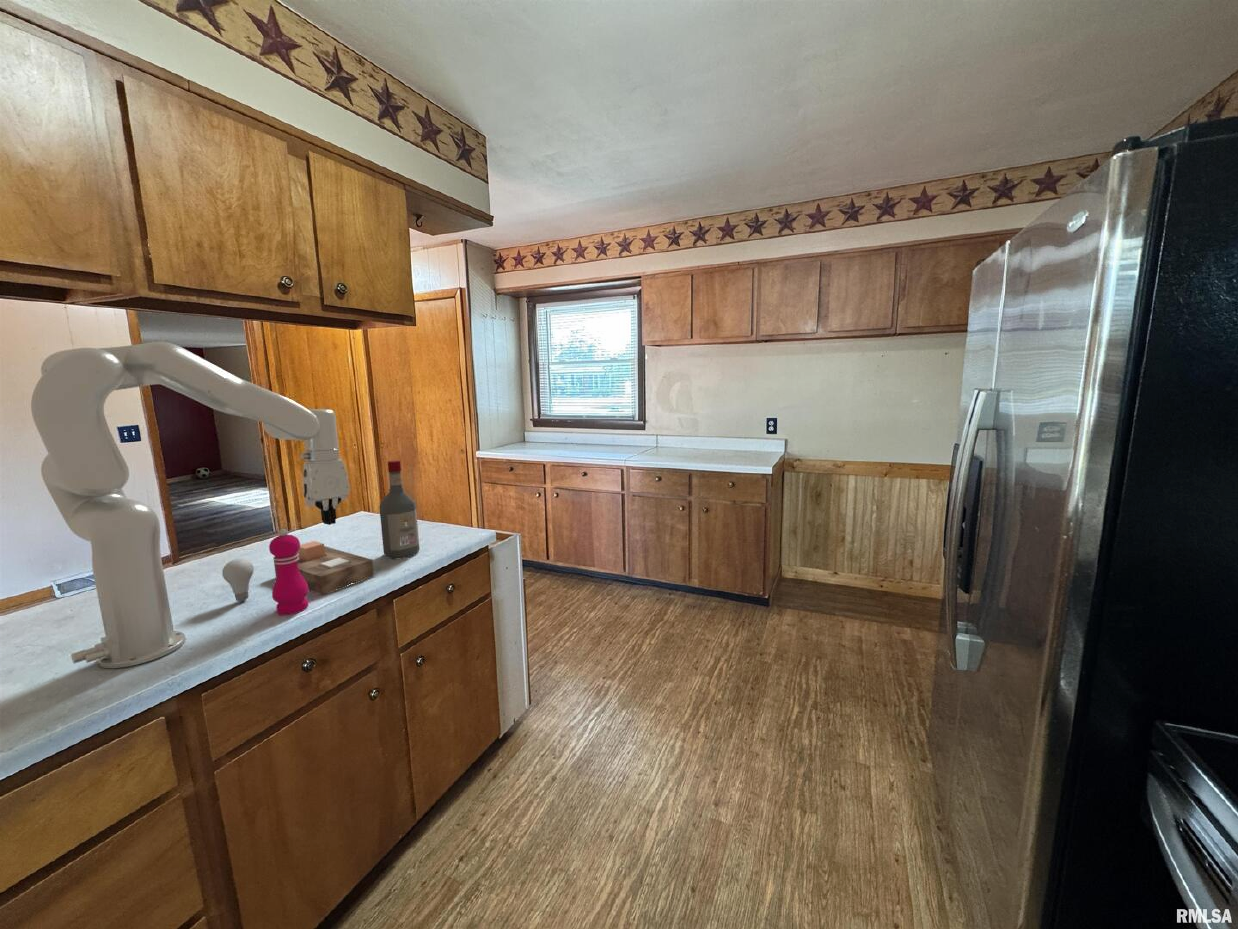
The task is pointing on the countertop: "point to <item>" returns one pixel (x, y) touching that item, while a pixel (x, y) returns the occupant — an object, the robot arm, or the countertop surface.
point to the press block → (334, 571)
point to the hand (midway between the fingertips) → (329, 523)
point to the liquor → (398, 518)
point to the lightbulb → (238, 577)
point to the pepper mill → (288, 575)
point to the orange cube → (311, 551)
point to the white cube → (334, 563)
